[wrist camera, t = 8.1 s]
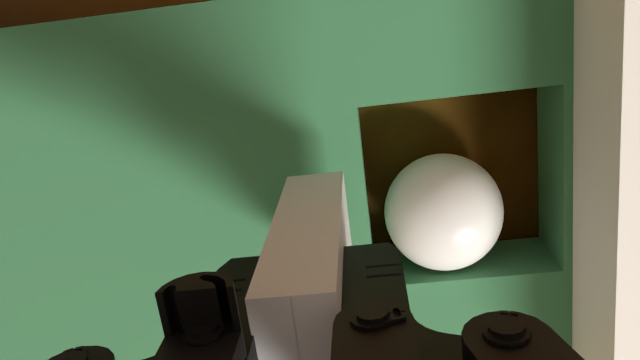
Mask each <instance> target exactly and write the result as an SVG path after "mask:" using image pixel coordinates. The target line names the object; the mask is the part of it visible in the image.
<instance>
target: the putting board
mask: <svg viewBox="0 0 640 360" xmlns="http://www.w3.org/2000/svg"><path fill="white" fill-rule="evenodd" d="M528 88H537V139H538V213H539V237H533V238H522V239H511V240H500V241H496V243H495V244H494V246H493V247H492V248H491V250H490V251H489V252H488V253H487V254H486V255H485V256H484V257H482V258H481V259H480V260H478V261H477V262H475V263H473V264H472V265H469V266H467V267H464V268H461V269H457V270H449V271H440V270H433V269H429V268H425V267H423V266H421V265H418V264H416V263H414V262H413V261H411V260H410V259H408V258H407V257H406V256H405V255H403V254H402V253H401V252H400V254H401V259H402V265H403V271H404V277H405V283H406V289H407V294H408V300H409V306H410V311H411V313H412V314H413V316H414V319H415V320H416V321H417V322H418V323H420V324H421V325H423V326H425V327H426V328H429V329H432V330H435V331H438V332H443V333H448V334H456V335H461V332H462V329H463V327H464V324H465V323H467V322H468V321H469V320H470V319H472V318H473V317H475V316H478V315H481V314H483V313H486V312H494V311H500V310H508V311H516V312H521V313H524V314H527V315H530V316H534V317H536V318H538V319H539V320H541V321H542V322H544V323H546V324H547V325H548V326H549V327H550V328H552V329H553V330H554V331H555V332H556V333H557V334H558V335H559V336H560V337H561V338H562V339H563V340H564V341H565V342H566V343H568V344H569V345H570V346H571V347H572V348H573V349H574V350H575V351H576V352H577V353H578V354H579V355H580V356H581V357H582V358H583V359H585V360H640V0H212V1H204V2H197V3H189V4H181V5H174V6H166V7H158V8H151V9H143V10H135V11H128V12H120V13H112V14H105V15H97V16H89V17H82V18H74V19H66V20H59V21H51V22H43V23H36V24H28V25H20V26H13V27H5V28H0V360H48V359H50V358H51V357H53V356H56V355H58V354H60V353H62V352H63V351H65V350H67V349H71V348H76V347H79V346H96V345H98V346H102V347H106V348H109V349H110V350H111V351H112V352H113V353H114V356H115V360H143V359H146V358H149V357H152V356H155V354H156V352H157V350H158V348H159V347H160V345H161V343H162V341H163V339H164V337H165V336H164V332H163V328H162V323H161V319H160V315H159V311H158V306H157V302H156V298H155V292H156V291H157V290H158V289H159V288H160V287H161V286H163V285H164V284H166V283H168V282H170V281H171V280H173V279H176V278H179V277H182V276H184V275H187V274H192V273H198V272H216V271H217V269H219V268H220V267H221V266H222V265H224V264H225V263H226V262H227V261H229V260H230V259H231V258H241V257H252V256H260V254H261V251H262V248H263V246H264V243H265V240H266V237H267V234H268V231H269V228H270V225H271V222H272V220H273V217H274V214H275V211H276V208H277V205H278V202H279V199H280V197H281V194H282V191H283V188H284V185H285V182H286V179H287V177H290V176H300V175H309V174H319V173H329V172H339V171H343V174H344V183H345V191H346V200H347V208H348V217H349V225H350V234H351V242H352V246H354V245H365V244H373V242H372V233H371V223H370V214H369V204H368V195H367V185H366V176H365V166H364V157H363V147H362V138H361V128H360V119H359V109H358V107H367V106H376V105H385V104H394V103H403V102H412V101H421V100H430V99H439V98H448V97H457V96H466V95H475V94H483V93H492V92H501V91H510V90H519V89H528ZM399 251H400V250H399Z"/></svg>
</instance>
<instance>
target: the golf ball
mask: <svg viewBox="0 0 640 360" xmlns="http://www.w3.org/2000/svg"><path fill="white" fill-rule="evenodd" d="M384 215H385V222H386V227H387V230H388V233H389V235H390V237H391V239H392V241H393V243H394V244H395V245H396V247H397V248H398V249H399V250H400V252H401V253H402V254H403V255H405V256H406V257H407V258H408V259H410V260H411V261H413V262H414V263H416V264H418V265H421V266H423V267H425V268H429V269H433V270H440V271H449V270H457V269H461V268H464V267H467V266H469V265H472V264H473V263H475V262H477V261H478V260H480V259H481V258H482V257H484V256H485V255H486V254H487V253H488V252H489V251H490V250H491V248H492V247H493V246H494V244H495V243H496V241H497V239H498V237H499V235H500V232H501V229H502V226H503V220H504V205H503V200H502V196H501V193H500V190H499V188H498V186H497V184H496V182H495V181H494V180H493V178H492V177H491V176H490V174H489V173H488V172H487V171H486V170H485V169H484V168H482V167H481V166H480V165H478V164H477V163H475V162H474V161H472V160H470V159H467V158H465V157H463V156H459V155H454V154H442V153H441V154H433V155H428V156H425V157H422V158H419V159H417V160H415V161H413V162H412V163H410V164H409V165H408V166H406V167H405V168H404V169H403V170H402V171H401V172H400V173H399V174H398V175H397V176H396V178H395V179H394V180H393V182H392V184H391V186H390V188H389V190H388V193H387V196H386V200H385V208H384Z"/></svg>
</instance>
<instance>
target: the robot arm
mask: <svg viewBox="0 0 640 360" xmlns="http://www.w3.org/2000/svg"><path fill="white" fill-rule="evenodd" d="M155 298H156V302H157V306H158V311H159V315H160V319H161V323H162V328H163V332H164V336H165V337H164V339H163V341H162V343H161V345H160V347H159V348H158V350H157V352H156V354H155V356H152V357H149V358H146V359H143V360H585V359H583V358H582V357H581V356H580V355H579V354H578V353H577V352H576V351H575V350H574V349H573V348H572V347H571V346H570V345H569V344H568V343H566V342H565V341H564V340H563V339H562V338H561V337H560V336H559V335H558V334H557V333H556V332H555V331H554V330H553V329H552V328H550V327H549V326H548V325H547V324H546V323H544V322H542V321H541V320H539V319H538V318H536V317H534V316H530V315H527V314H524V313H521V312H516V311H508V310H500V311H494V312H486V313H483V314H481V315H478V316H475V317H473V318H472V319H470V320H469V321H468V322H467V323H465V324H464V327H463V329H462V332H461V335H456V334H448V333H443V332H438V331H435V330H432V329H429V328H426V327H425V326H423V325H421V324H420V323H418V322H417V321H416V320H415V319H414V316H413V314H412V313H411V311H410V306H409V300H408V294H407V289H406V283H405V277H404V271H403V265H402V259H401V254H400V251H399V250H398V249H396V248H395V247H394V246H393V245H392V244H390V243H389V242H387V243H376V244H365V245H354V246H352V242H351V234H350V225H349V217H348V208H347V200H346V191H345V183H344V174H343V171H339V172H329V173H319V174H309V175H300V176H290V177H287V179H286V182H285V185H284V188H283V191H282V194H281V197H280V199H279V202H278V205H277V208H276V211H275V214H274V217H273V220H272V222H271V225H270V228H269V231H268V234H267V237H266V240H265V243H264V246H263V248H262V251H261V254H260V256H252V257H241V258H231V259H230V260H229V261H227V262H226V263H225V264H224V265H222V266H221V267H220V268H219V269H217V271H216V272H198V273H192V274H187V275H184V276H182V277H179V278H176V279H173V280H171V281H170V282H168V283H166V284H164V285H163V286H161V287H160V288H159V289H158V290H157V291H156V292H155ZM48 360H115V356H114V353H113V352H112V351H111V350H110V349H109V348H106V347H102V346H98V345H96V346H79V347H76V348H71V349H67V350H65V351H63V352H62V353H60V354H58V355H56V356H53V357H51V358H50V359H48Z"/></svg>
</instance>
